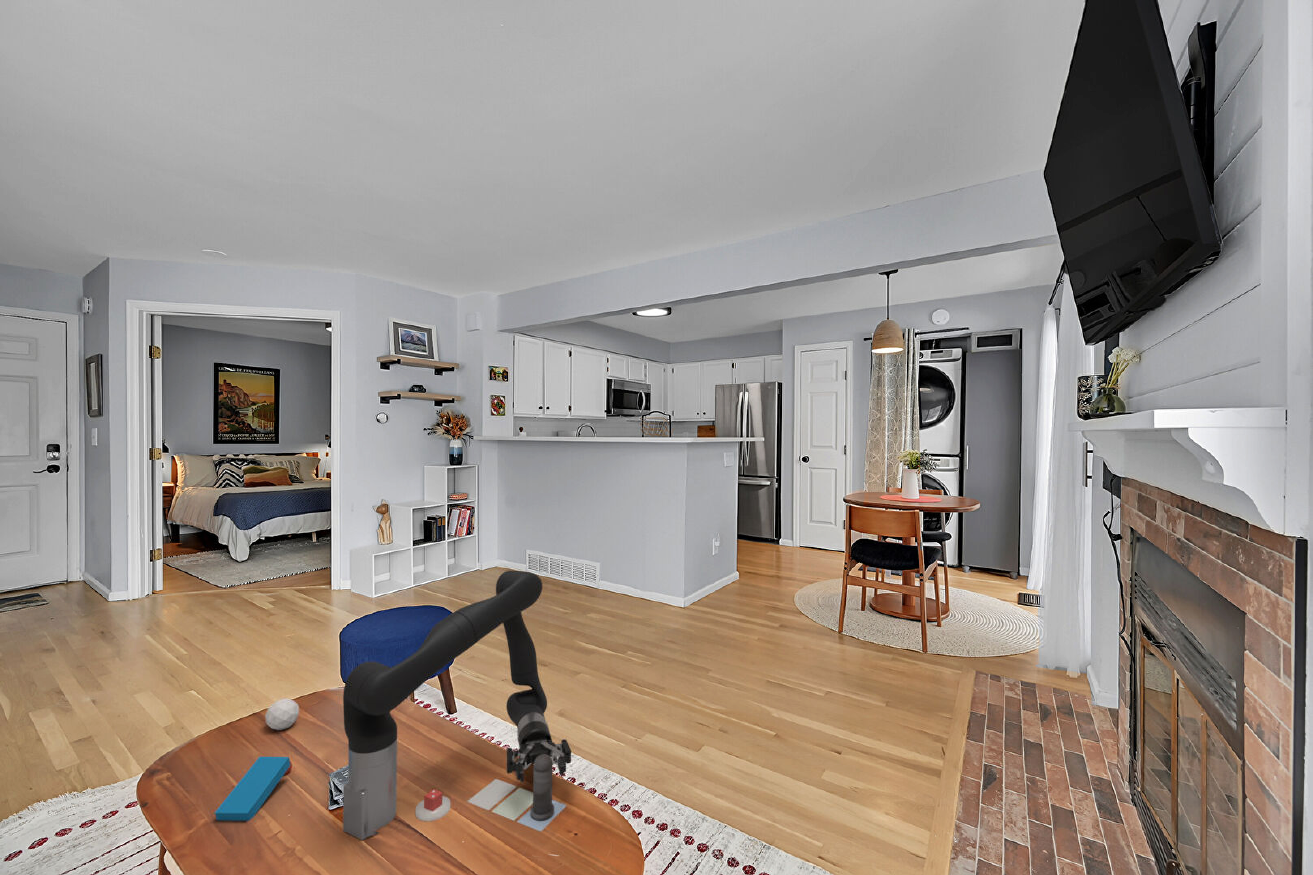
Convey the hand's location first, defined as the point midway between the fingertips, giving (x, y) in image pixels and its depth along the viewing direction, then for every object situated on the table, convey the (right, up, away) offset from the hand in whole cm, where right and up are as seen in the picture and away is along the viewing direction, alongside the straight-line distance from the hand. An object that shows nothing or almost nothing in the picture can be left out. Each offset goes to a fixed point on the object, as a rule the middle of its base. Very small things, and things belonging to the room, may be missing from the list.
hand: (542, 774), depth 123 cm
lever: (-65, -8, +6) cm, 66 cm away
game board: (-6, -9, +3) cm, 11 cm away
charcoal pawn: (0, -8, 0) cm, 8 cm away
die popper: (-24, -9, 0) cm, 25 cm away
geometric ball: (-79, -7, +34) cm, 86 cm away
